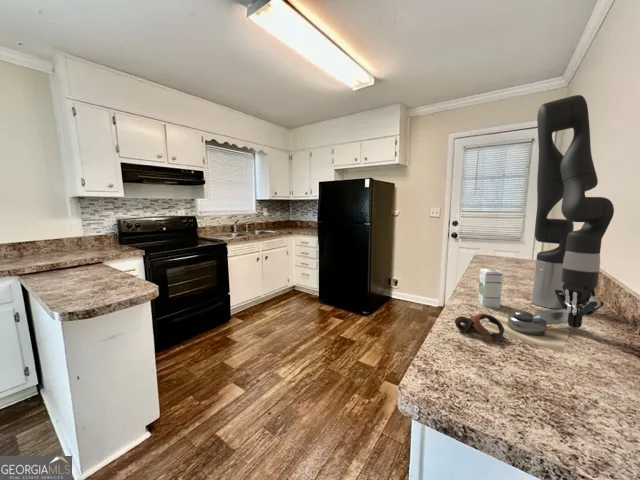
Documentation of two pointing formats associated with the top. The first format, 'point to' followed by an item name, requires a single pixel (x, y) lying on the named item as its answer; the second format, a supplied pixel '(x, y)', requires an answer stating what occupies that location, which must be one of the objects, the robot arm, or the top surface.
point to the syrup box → (490, 288)
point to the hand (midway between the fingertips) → (573, 326)
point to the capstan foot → (536, 321)
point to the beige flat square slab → (551, 339)
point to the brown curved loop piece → (483, 331)
